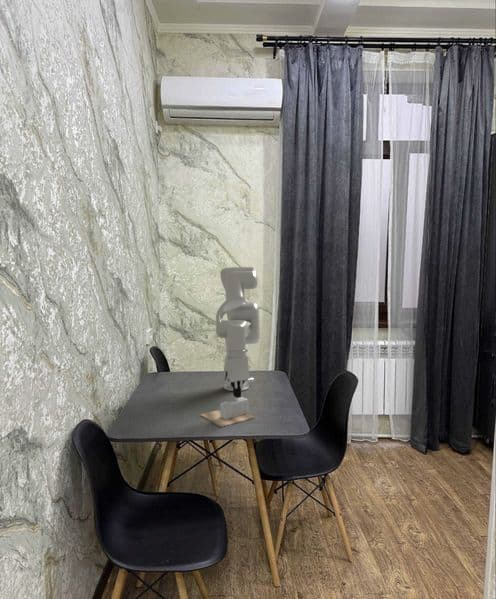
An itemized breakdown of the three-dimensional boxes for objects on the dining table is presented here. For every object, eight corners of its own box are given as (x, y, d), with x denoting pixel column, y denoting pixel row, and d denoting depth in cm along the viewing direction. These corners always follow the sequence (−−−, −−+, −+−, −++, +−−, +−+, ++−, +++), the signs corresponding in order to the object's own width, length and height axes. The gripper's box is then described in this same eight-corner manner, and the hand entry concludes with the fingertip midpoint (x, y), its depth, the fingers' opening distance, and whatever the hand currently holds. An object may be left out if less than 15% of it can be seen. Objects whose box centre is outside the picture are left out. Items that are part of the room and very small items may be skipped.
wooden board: (233, 407, 195) (233, 406, 195) (254, 418, 182) (254, 417, 182) (200, 415, 186) (200, 414, 186) (220, 427, 173) (220, 426, 173)
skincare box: (242, 396, 190) (219, 402, 182) (248, 399, 187) (226, 405, 179) (242, 410, 191) (220, 417, 183) (249, 413, 187) (226, 420, 180)
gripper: (246, 349, 192) (246, 391, 194) (216, 354, 183) (217, 397, 185) (256, 352, 186) (257, 395, 188) (225, 357, 177) (226, 402, 179)
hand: (237, 396), depth 186 cm, fingers closed
